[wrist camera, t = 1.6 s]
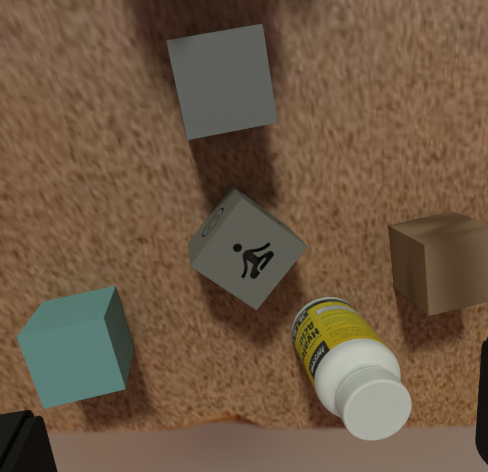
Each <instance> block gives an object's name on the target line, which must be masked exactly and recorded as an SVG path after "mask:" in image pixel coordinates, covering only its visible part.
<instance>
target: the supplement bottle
mask: <svg viewBox="0 0 488 472" xmlns="http://www.w3.org/2000/svg"><path fill="white" fill-rule="evenodd" d="M291 334H292V340H293V344H294V346H295V349H296V351H297V353H298V355H299V357H300V359H301V361H302V363H303V366H304V368H305V370H306V372H307V374H308V376H309V379H310V381H311V383H312V385H313V387H314V390H315V392H316V394H317V396H318V398H319V400H320V401H321V403H322V404H323V406H324V407H325V408H326V409H327V410H328V411H330V412H331V413H333V414H334V415H336V416H338V417H340V418H341V419H342V421H343V423H344V425H345V427H346V428H347V430H348V431H349V432H350V433H351V434H352V435H354V436H355V437H357V438H359V439H362V440H368V441H373V440H374V441H375V440H381V439H384V438H387V437H389V436H391V435H393V434H394V433H396V432H397V431H398V430H399V429H400V428H401V427H402V426H403V425H404V424H405V423H406V421H407V419H408V417H409V415H410V412H411V398H410V395H409V393H408V391H407V390H406V388H405V387H404V385H403V384H402V383H401V381H400V378H401V375H400V368H399V364H398V362H397V359H396V358H395V356H394V355H393V353H392V352H391V351H390V349H389V348H388V347H387V346H386V344H385V343H384V342H383V341H382V340H381V339H380V338H379V336H378V335H377V334H376V333H375V332H374V331H373V329H372V328H371V327H370V326H369V325H368V324H367V322H366V321H365V320H364V319H363V318H362V317H361V315H360V314H359V313H358V312H357V311H356V310H355V308H354V307H353V306H351V305H350V304H349V303H348V302H346V301H344V300H342V299H339V298H336V297H323V298H319V299H316V300H313V301H311V302H309V303H308V304H306V305H305V306H304V307H303V308H302V309H301V310H300V311H299V312H298V313H297V315H296V317H295V319H294V321H293V324H292V331H291Z"/></svg>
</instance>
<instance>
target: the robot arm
mask: <svg viewBox="0 0 488 472" xmlns="http://www.w3.org/2000/svg"><path fill="white" fill-rule="evenodd" d="M475 441H476V447H477V450H478V452H479V454H480V456H481V458H482V459H483V460H484V461H485V462H486V464H488V337H487V340H486V341H484V342H483V344H482V349H481V364H480V379H479V393H478V408H477V423H476V439H475ZM0 472H57V468H56V465H55V461H54V457H53V453H52V449H51V445H50V442H49V438H48V434H47V430H46V427H45V423H44V420H43V418H42V417H41V416H35V417H34V414H33V413H32V411H30V410H24V411H18V412H12V413H6V414H0Z"/></svg>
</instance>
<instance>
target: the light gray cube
mask: <svg viewBox="0 0 488 472" xmlns="http://www.w3.org/2000/svg"><path fill="white" fill-rule="evenodd" d="M166 42H167V47H168V51H169V56H170V61H171V65H172V70H173V75H174V79H175V84H176V89H177V93H178V98H179V103H180V107H181V112H182V116H183V121H184V126H185V130H186V135H187V140H191V139H196V138H201V137H206V136H211V135H217V134H222V133H227V132H232V131H237V130H242V129H247V128H253V127H258V126H263V125H268V124H273V123H278V121H277V115H276V108H275V102H274V95H273V89H272V82H271V76H270V69H269V62H268V56H267V49H266V43H265V36H264V30H263V24H257V25H251V26H246V27H240V28H234V29H228V30H223V31H217V32H211V33H206V34H200V35H194V36H188V37H183V38H177V39H171V40H166Z"/></svg>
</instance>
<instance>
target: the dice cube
mask: <svg viewBox="0 0 488 472" xmlns="http://www.w3.org/2000/svg"><path fill="white" fill-rule="evenodd" d="M306 248H307V246H306V245H305V244H304V242H303V241H302V240H301V239H300V238H299V237H298V236H297V235H296V234H295V233H294V232H293V231H292V230H291V229H290V228H289V227H288V226H287V225H285V224H284V223H283V222H281V221H280V220H279V219H277V218H276V217H275V216H273V215H272V214H271V213H269V212H268V211H267V210H265V209H264V208H263V207H261V206H260V205H259V204H257V203H256V202H255V201H253V200H252V199H251V198H249V197H248V196H247V195H245V194H244V193H243V192H241V191H240V190H239V189H237V188H236V187H235V186H233V185H231V187H230V188H229V189H228V191H227V192H226V193H225V195H224V196H223V197H222V199H221V200H220V201H219V203H218V204H217V205H216V207H215V208H214V209H213V211H212V212H211V213H210V215H209V216H208V217H207V219H206V220H205V221H204V223H203V224H202V225H201V227H200V228H199V229H198V231H197V232H196V233H195V235H194V236H193V237H192V239H191V240H190V241H189V258H190V267H192V268H193V269H195V270H196V271H198V272H199V273H201V274H202V275H204V276H205V277H207V278H208V279H210V280H211V281H213V282H215V283H216V284H218V285H219V286H221V287H222V288H224V289H225V290H227V291H228V292H230V293H231V294H233V295H234V296H236V297H237V298H239V299H240V300H242V301H243V302H245V303H246V304H248V305H249V306H251V307H252V308H254V309H255V310H257V309H258V308H259V307H260V305H261V304H262V303H263V302H264V300H265V299H266V298H267V297H268V295H269V294H270V293H271V292H272V290H273V289H274V288H275V287H276V285H277V284H278V283H279V282H280V280H281V279H282V278H283V277H284V275H285V274H286V273H287V272H288V270H289V269H290V268H291V267H292V265H293V264H294V263H295V262H296V260H297V259H298V258H299V257H300V255H301V254H302V253H303V252H304V250H305V249H306Z"/></svg>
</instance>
